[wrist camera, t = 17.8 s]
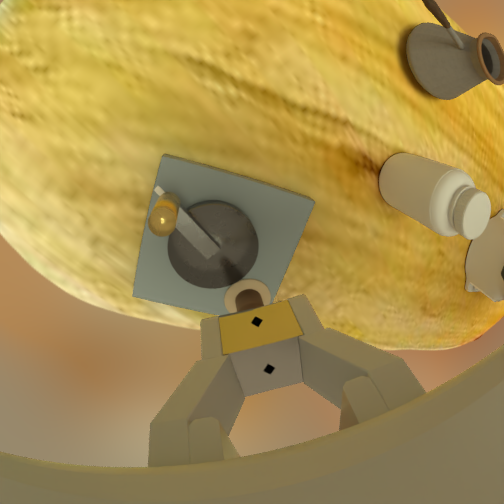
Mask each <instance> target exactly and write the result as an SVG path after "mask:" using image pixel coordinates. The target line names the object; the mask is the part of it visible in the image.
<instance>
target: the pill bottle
mask: <svg viewBox="0 0 504 504" xmlns="http://www.w3.org/2000/svg"><path fill="white" fill-rule="evenodd" d="M379 188H380V192H381V194H382V197H383V198H384V200H385V201H386V202H387V203H388V204H389V205H391V206H392V207H394V208H396V209H397V210H399V211H401V212H403V213H404V214H406V215H408V216H410V217H411V218H413V219H415V220H416V221H418V222H420V223H421V224H423V225H425V226H426V227H428V228H430V229H431V230H433V231H435V232H436V233H438V234H440V235H442V236H455V235H457V234H460V235H462V236H463V237H465V238H466V239H470V240H472V239H475V238H477V237H479V236H480V235H481V234H482V232H483V231H484V230H485V228H486V226H487V224H488V221H489V218H490V213H491V204H490V200H489V197H488V196H487V194H486V193H484V192H483V191H480V190H478V189H476V188H475V185H474V182H473V180H472V179H471V177H470V176H469V175H468V174H467V173H466V172H464V171H463V170H460V169H458V168H455V167H452V166H449V165H446V164H443V163H440V162H436V161H433V160H430V159H427V158H423V157H420V156H416V155H413V154H409V153H398V154H395V155H393V156H392V157H390V158H389V159H388V160H387V161H386V162H385V164H384V165H383V167H382V170H381V172H380V177H379Z"/></svg>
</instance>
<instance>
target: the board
mask: <svg viewBox="0 0 504 504" xmlns="http://www.w3.org/2000/svg"><path fill="white" fill-rule="evenodd" d="M165 192H173V193H175V194H176V195H177V196H178V197H179V199H180V203H181V204H182V205H183V206H184V207H185V208H188V207H190V206H191V205H193V204H196V203H198V202H202V201H207V200H220V201H225V202H228V203H231V204H233V205H235V206H237V207H238V208H240V209H241V210H242V211H243V212H244V213H245V214H246V215H247V216H248V217H249V219H250V220H251V222H252V224H253V226H254V228H255V231H256V233H257V237H258V242H259V250H258V256H257V259H256V262H255V264H254V266H253V267H252V269H251V270H250V271H249V273H248V274H247V275H246V276H245V277H243V278H242V279H241V280H239V281H238V282H236V283H234V284H232V285H230V286H227V287H223V288H217V289H208V288H202V287H198V286H195V285H192V284H190V283H188V282H187V281H185V280H184V279H183V278H181V277H180V276H179V275H178V274H177V273H176V271H175V270H174V268H173V267H172V265H171V263H170V260H169V256H168V248H167V247H168V239H169V235H168V236H164V237H160V236H157V235H155V234H153V233H152V232H151V231H150V229H149V227H148V218H149V216H150V214H151V212H152V210H153V208H154V206H155V204H156V202H157V200H158V198H159V197H160V195H162V194H163V193H165ZM314 204H315V201H314V200H312V199H311V198H310V197H307V196H304V195H301V194H298V193H296V192H293V191H290V190H287V189H284V188H281V187H278V186H274V185H271V184H268V183H265V182H262V181H259V180H256V179H252V178H249V177H246V176H243V175H239V174H236V173H233V172H229V171H226V170H223V169H219V168H216V167H212V166H209V165H205V164H201V163H198V162H194V161H190V160H187V159H183V158H179V157H175V156H171V155H167V154H164V155H163V156H162V159H161V163H160V166H159V170H158V174H157V177H156V181H155V185H154V189H153V193H152V197H151V202H150V206H149V210H148V215H147V219H146V224H145V228H144V233H143V238H142V243H141V248H140V254H139V259H138V265H137V270H136V276H135V282H134V289H133V295H132V296H133V297H137V298H141V299H145V300H149V301H154V302H158V303H162V304H167V305H171V306H176V307H180V308H185V309H190V310H195V311H199V312H204V313H209V314H214V315H225V314H230V313H234V312H237V309H236V304H235V299H236V296H237V295H238V293H240V292H241V291H243V290H246V289H253V290H256V291H258V292H259V293H260V295H261V298H262V301H263V304H264V306H265V305H269V304H272V302H273V300H274V298H275V295H276V293H277V291H278V289H279V286H280V284H281V282H282V280H283V277H284V275H285V273H286V270H287V268H288V266H289V263H290V261H291V259H292V256H293V254H294V252H295V249H296V247H297V245H298V242H299V240H300V238H301V235H302V233H303V230H304V228H305V226H306V223H307V221H308V218H309V216H310V213H311V211H312V209H313V206H314Z"/></svg>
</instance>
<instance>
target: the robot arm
mask: <svg viewBox="0 0 504 504" xmlns="http://www.w3.org/2000/svg"><path fill="white" fill-rule="evenodd" d="M465 270H466V277H467V279H466V284H465V290H467V291H468V292H478V291H481V292H482V293H483V294H485V295H486V296H487V297H488V298H490V299H491V300H492V301H494V302H496V301H501V300H504V209H502V210H501V211H500V212H499V213H498V214H497V215H496V216H495V217H493V218H491V219H489V221H488V224H487V226H486V228H485V230H484V231H483V232H482V234H481V235H480V236H479V237H477V238H475V239H473V241H472V243H471V245H470V248H469V251H468V254H467V258H466V266H465ZM200 326H201V349H202V350H201V352H202V360H200V361H196V363H195V364H194V366H193V367H192V368H191V370H190V371H189V372H188V374H187V375H186V376H185V378H184V379H183V381H182V382H181V383H180V385H179V386H178V387H177V389H176V390H175V391H174V393H173V394H172V395H171V397H170V398H169V399H168V401H167V402H166V403H165V405H164V406H163V407H162V409H161V410H160V411H159V413H158V414H157V415H156V417H155V418H154V419H153V420H152V422H151V423H150V437H149V457H148V467H98V466H84V465H73V464H64V463H56V462H50V461H42V460H37V459H32V458H27V457H21V456H17V455H13V454H8V453H4V452H0V504H504V344H503V345H502V346H501V347H499V348H498V349H497V350H495V351H494V352H492V353H491V354H489V355H488V356H487V357H485V358H484V359H482V360H481V361H479V362H478V363H476V364H475V365H473V366H472V367H470V368H469V369H467V370H466V371H464V372H462V373H461V374H459V375H457V376H456V377H454V378H452V379H451V380H449V381H447V382H445V383H444V384H442V385H440V386H439V387H436V388H435V389H433V390H431V391H429V392H427V393H426V392H425V390H424V389H423V387H422V386H421V385H420V383H419V382H418V380H417V379H416V377H415V376H414V374H413V373H412V372H411V370H410V369H409V367H408V366H407V364H406V363H405V362H404V360H403V359H402V358H400V357H398V356H395V355H393V354H390V353H388V352H385V351H383V350H381V349H378V348H376V347H374V346H371V345H369V344H366V343H364V342H362V341H359V340H357V339H355V338H352V337H350V336H348V335H345V334H343V333H341V332H339V331H336V330H334V329H332V328H326V329H324V327H323V326H322V324H321V322H320V320H319V318H318V317H317V315H316V313H315V311H314V309H313V308H312V306H311V304H310V302H309V301H308V299H307V297H306V295H304V294H302V295H299V296H296V297H292V298H289V299H287V300H284V301H280V302H277V303H273V304H269V305H265V306H261V307H257V308H252V309H248V310H243V311H239V312H234V313H230V314H225V315H220V316H216V317H212V318H207V319H202V320H201V323H200ZM301 382H304V384H306V385H307V386H309V387H310V388H311V389H313V390H314V391H316V392H317V393H318V394H320V395H321V396H323V397H324V398H325V399H327V400H328V401H330V402H331V403H333V404H334V405H335V406H337V407H338V408H340V409H341V416H340V426H339V431H337V432H335V433H332V434H329V435H326V436H322V437H319V438H316V439H313V440H310V441H306V442H303V443H299V444H296V445H292V446H288V447H284V448H281V449H276V450H272V451H268V452H263V453H259V454H254V455H249V456H244V457H240V455H239V454H238V452H237V451H236V449H235V447H234V446H233V444H232V442H231V441H230V439H229V437H228V436H229V433H230V431H231V429H232V427H233V425H234V423H235V420H236V418H237V416H238V414H239V411H240V409H241V407H242V404H243V402H244V400H245V397H246V396H250V395H254V394H258V393H262V392H265V391H269V390H273V389H276V388H281V387H285V386H289V385H293V384H297V383H301Z"/></svg>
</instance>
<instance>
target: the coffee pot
mask: <svg viewBox="0 0 504 504" xmlns="http://www.w3.org/2000/svg"><path fill="white" fill-rule="evenodd" d="M422 1H423V3H424V4H425V6H426V8H427V9H428V10H429V11H430V12H431V13H432V14H433V15H434V16H435V17H436V19H437V20H438V21H439V22H440V23H441V24H442V25H443V26H440V25H437V24H433V23H421V24H420V25H418V26H416V27H415V28H414V29H413V30H412V32H411V33H410V35H409V37H408V40H407V45H406V53H407V59H408V63H409V66H410V69H411V71H412V73H413V75H414V77H415V78H416V80H417V81H418V83H419V84H420V85H421V86H422V88H424V89H425V90H426V91H427V92H429V93H430V94H431V95H433V96H435V97H437V98H439V99H444V100H450V99H453V98H456V97H458V96H460V95H461V94H463V93H465V92H466V91H468V90H470V89H471V88H473V87H475V86H476V85H478V84H480V83H481V82H483V81H485V80H487V79H488V80H490V81H491V82H492V83H494V84H495V85H502V84H503V83H504V52H503V49H502V47H501V45H500V43H499V42H498V40H497V38H496V37H495V36H494V35H492V34H489V33H482V34H480V35H479V37H478V38H473V37H471V36H468V35H466V34H463V33H460V32H458V31H455V30H453V28H452V27H451V26H450V23H449V22H448V20H447V19H446V17H445V15H444V14H443V12H442V11H441V9H440V8H439V6H438V5H437V4H436V2H435V1H434V0H422Z"/></svg>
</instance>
